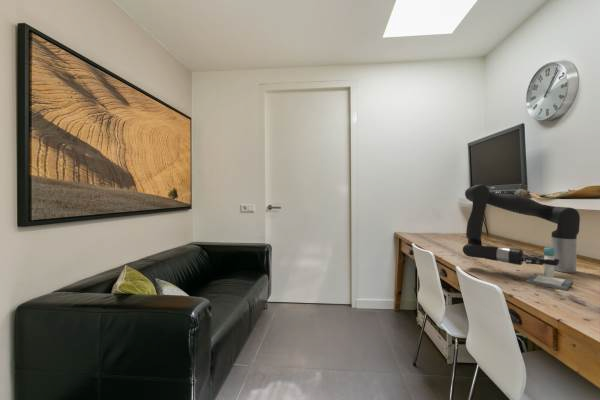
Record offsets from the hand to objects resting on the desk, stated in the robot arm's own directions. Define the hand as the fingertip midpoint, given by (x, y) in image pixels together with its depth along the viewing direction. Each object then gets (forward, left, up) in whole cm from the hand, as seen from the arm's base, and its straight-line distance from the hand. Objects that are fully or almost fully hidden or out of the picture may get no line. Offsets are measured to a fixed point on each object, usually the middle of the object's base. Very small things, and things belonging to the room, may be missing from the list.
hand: (557, 262), depth 116 cm
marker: (0, -3, -7) cm, 8 cm away
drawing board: (0, -3, -10) cm, 10 cm away
